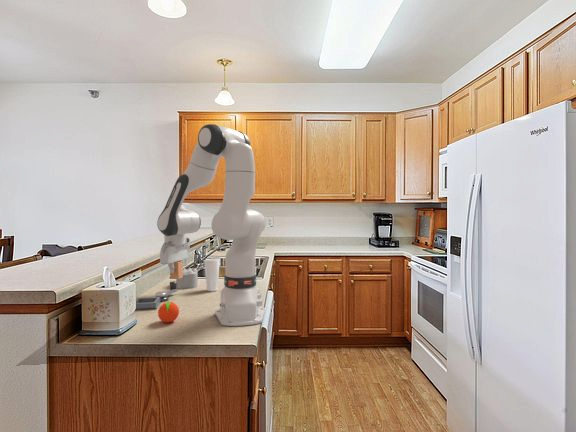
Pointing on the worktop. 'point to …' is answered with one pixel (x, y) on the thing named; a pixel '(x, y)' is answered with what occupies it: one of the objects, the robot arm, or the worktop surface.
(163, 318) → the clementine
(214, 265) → the drinking glass
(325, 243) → the worktop surface
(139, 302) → the tray
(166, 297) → the crank base
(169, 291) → the crank
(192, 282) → the grey animal paw
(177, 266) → the block
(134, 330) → the worktop surface
